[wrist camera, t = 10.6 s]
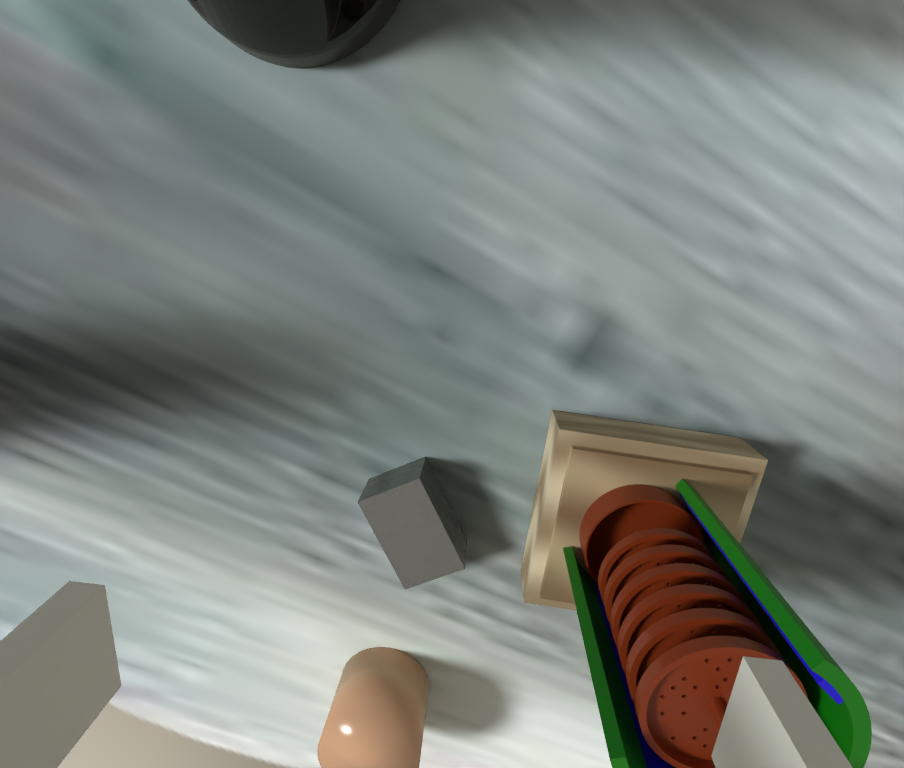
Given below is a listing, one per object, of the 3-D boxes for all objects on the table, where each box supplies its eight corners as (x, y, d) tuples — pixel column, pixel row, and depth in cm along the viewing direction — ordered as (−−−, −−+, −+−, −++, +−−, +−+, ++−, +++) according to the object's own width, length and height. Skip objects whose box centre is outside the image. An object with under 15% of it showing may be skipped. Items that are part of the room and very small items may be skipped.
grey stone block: (369, 477, 42) (357, 502, 38) (425, 455, 41) (419, 478, 37) (412, 558, 43) (405, 589, 40) (466, 538, 43) (464, 568, 39)
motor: (647, 449, 34) (850, 720, 15) (743, 527, 35) (1045, 873, 16) (544, 550, 37) (606, 891, 18) (636, 620, 38) (789, 1014, 19)
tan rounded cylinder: (345, 640, 46) (320, 709, 39) (434, 654, 46) (424, 726, 39) (338, 710, 48) (314, 787, 41) (423, 724, 48) (413, 803, 41)
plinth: (552, 410, 39) (560, 432, 34) (740, 437, 38) (773, 463, 34) (520, 569, 43) (524, 607, 38) (690, 595, 42) (714, 637, 38)
